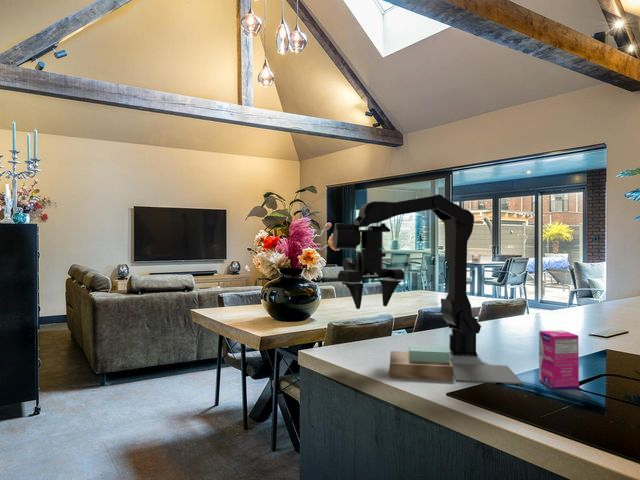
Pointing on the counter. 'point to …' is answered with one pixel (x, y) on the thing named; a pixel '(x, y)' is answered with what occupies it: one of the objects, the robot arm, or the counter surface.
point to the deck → (418, 368)
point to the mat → (484, 374)
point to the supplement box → (559, 359)
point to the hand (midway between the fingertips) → (371, 307)
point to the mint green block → (428, 353)
